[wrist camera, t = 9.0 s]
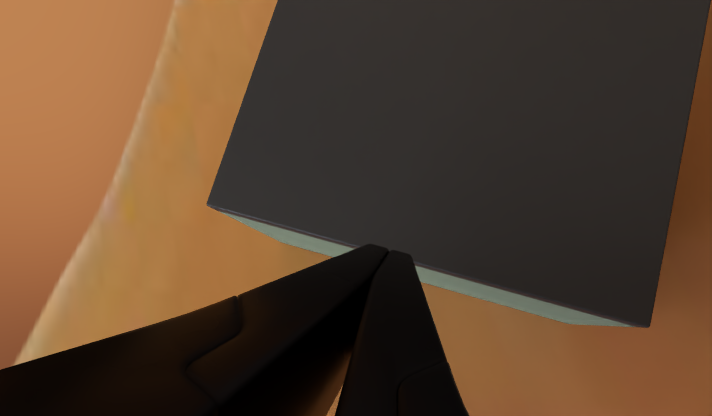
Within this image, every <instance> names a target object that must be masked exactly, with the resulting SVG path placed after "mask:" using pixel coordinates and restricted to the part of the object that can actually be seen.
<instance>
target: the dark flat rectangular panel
mask: <svg viewBox="0 0 712 416" xmlns="http://www.w3.org/2000/svg"><path fill="white" fill-rule="evenodd" d="M710 2H711V0H278V1H277V4H276V7H275V10H274V13H273V16H272V19H271V21H270V24H269V27H268V30H267V33H266V36H265V39H264V41H263V44H262V47H261V50H260V53H259V56H258V59H257V61H256V64H255V67H254V70H253V73H252V76H251V78H250V81H249V84H248V87H247V90H246V93H245V96H244V98H243V101H242V104H241V107H240V110H239V113H238V116H237V118H236V121H235V124H234V127H233V130H232V133H231V136H230V138H229V141H228V144H227V147H226V150H225V153H224V155H223V158H222V161H221V164H220V167H219V170H218V173H217V175H216V178H215V181H214V184H213V187H212V190H211V193H210V195H209V198H208V201H207V206H209V207H211V208H213V209H215V210H217V211H220V212H224V213H227V214H231V215H235V216H238V217H242V218H245V219H249V220H253V221H256V222H260V223H263V224H267V225H270V226H274V227H278V228H281V229H285V230H288V231H292V232H296V233H299V234H303V235H306V236H310V237H314V238H317V239H321V240H324V241H328V242H332V243H335V244H339V245H342V246H346V247H350V248H353V249H356V248H359V247H361V246H364V245H366V244H375V245H378V246H382V247H386V248H388V250H389V251H390V250H397V251H401V252H404V253H408V254H410V255H411V256H412V259H413V262H414V265H415V266H418V267H422V268H425V269H429V270H432V271H436V272H440V273H443V274H447V275H450V276H454V277H458V278H461V279H465V280H468V281H472V282H476V283H479V284H483V285H486V286H490V287H494V288H497V289H501V290H504V291H508V292H512V293H515V294H519V295H522V296H526V297H530V298H533V299H537V300H540V301H544V302H548V303H551V304H555V305H558V306H562V307H566V308H569V309H573V310H576V311H580V312H584V313H587V314H591V315H594V316H598V317H601V318H605V319H609V320H612V321H616V322H619V323H623V324H627V325H630V326H634V327H645V328H648V327H650V323H651V318H652V313H653V307H654V302H655V297H656V291H657V286H658V280H659V275H660V270H661V264H662V259H663V254H664V248H665V243H666V238H667V232H668V227H669V222H670V216H671V211H672V206H673V200H674V195H675V190H676V184H677V179H678V174H679V168H680V163H681V157H682V152H683V147H684V141H685V136H686V131H687V125H688V120H689V115H690V109H691V104H692V99H693V93H694V88H695V83H696V77H697V72H698V67H699V61H700V56H701V50H702V45H703V40H704V34H705V29H706V24H707V18H708V13H709V8H710Z"/></svg>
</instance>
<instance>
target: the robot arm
mask: <svg viewBox="0 0 712 416" xmlns="http://www.w3.org/2000/svg"><path fill="white" fill-rule="evenodd" d="M342 385H343V387H342ZM341 387H342V391H341V395H340V398H339V402H338V406H337V409H336V413H335V416H469V414H468V412H467V410H466V408H465V406H464V404H463V401H462V398H461V396H460V393H459V391H458V388H457V386H456V383H455V381H454V378H453V375H452V372H451V369H450V366H449V363H448V362H447V359H446V356H445V353H444V350H443V347H442V344H441V341H440V338H439V335H438V332H437V330H436V327H435V324H434V321H433V318H432V315H431V312H430V309H429V306H428V303H427V300H426V297H425V294H424V291H423V288H422V285H421V282H420V279H419V276H418V274H417V271H416V268H415V265H414V262H413V259H412V256H411V255H410V254H408V253H404V252H401V251H397V250H390V251H389V250H388V248H386V247H382V246H378V245H375V244H366V245H364V246H361V247H359V248H356V249H354V250H351V251H349V252H346V253H343V254H341V255H338V256H336V257H333V258H331V259H328V260H326V261H323V262H321V263H318V264H316V265H313V266H311V267H308V268H306V269H303V270H300V271H298V272H295V273H293V274H290V275H288V276H285V277H283V278H280V279H278V280H275V281H273V282H270V283H268V284H265V285H262V286H260V287H257V288H255V289H252V290H250V291H247V292H245V293H242V294H240V295H238V297H237V296H233V297H230V298H228V299H225V300H222V301H220V302H217V303H215V304H212V305H209V306H206V307H204V308H201V309H198V310H196V311H193V312H190V313H187V314H184V315H181V316H178V317H175V318H171V319H168V320H165V321H162V322H159V323H156V324H152V325H149V326H146V327H142V328H139V329H136V330H132V331H129V332H126V333H122V334H119V335H116V336H112V337H109V338H105V339H102V340H99V341H95V342H92V343H89V344H85V345H82V346H79V347H75V348H72V349H69V350H65V351H62V352H58V353H55V354H52V355H48V356H45V357H42V358H38V359H35V360H32V361H28V362H25V363H22V364H18V365H15V366H12V367H8V368H5V369H1V370H0V416H326V415H327V413H328V411H329V409H330V407H331V405H332V404H333V402H334V400H335V398H336V396H337V394H338V392H339V391H340V389H341Z"/></svg>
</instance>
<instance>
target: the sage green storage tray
mask: <svg viewBox="0 0 712 416" xmlns="http://www.w3.org/2000/svg"><path fill="white" fill-rule="evenodd" d="M221 213H223V214H225V215H227V216H229V217H231V218H233V219H235V220H237V221H239V222H241V223H243V224H246V225H248V226H250V227H252V228H254V229H256V230H258V231H260V232H262V233H264V234H266V235H268V236H270V237H272V238H274V239H276V240H278V241H280V242H282V243H286V244H289V245H293V246H296V247H300V248H303V249H307V250H310V251H314V252H317V253H321V254H324V255H328V256H331V257H336V256H338V255H341V254H343V253H346V252H349V251H351V250H354V249H353V248H350V247H346V246H342V245H339V244H335V243H332V242H328V241H324V240H321V239H317V238H314V237H310V236H306V235H303V234H299V233H296V232H292V231H288V230H285V229H281V228H278V227H274V226H270V225H267V224H263V223H260V222H256V221H253V220H249V219H245V218H242V217H238V216H235V215H231V214H227V213H224V212H221ZM415 268H416V271H417V274H418V276H419V279H420V282H423V283H426V284H430V285H433V286H437V287H440V288H444V289H448V290H451V291H455V292H458V293H462V294H465V295H469V296H472V297H476V298H479V299H483V300H486V301H490V302H493V303H497V304H500V305H504V306H507V307H511V308H514V309H518V310H521V311H525V312H529V313H532V314H536V315H539V316H543V317H546V318H550V319H553V320H557V321H560V322H564V323H567V324H579V325H600V326H622V327H634V326H630V325H627V324H623V323H619V322H616V321H612V320H609V319H605V318H601V317H598V316H594V315H591V314H587V313H584V312H580V311H576V310H573V309H569V308H566V307H562V306H558V305H555V304H551V303H548V302H544V301H540V300H537V299H533V298H530V297H526V296H522V295H519V294H515V293H512V292H508V291H504V290H501V289H497V288H494V287H490V286H486V285H483V284H479V283H476V282H472V281H468V280H465V279H461V278H458V277H454V276H450V275H447V274H443V273H440V272H436V271H432V270H429V269H425V268H422V267H418V266H415Z"/></svg>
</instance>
